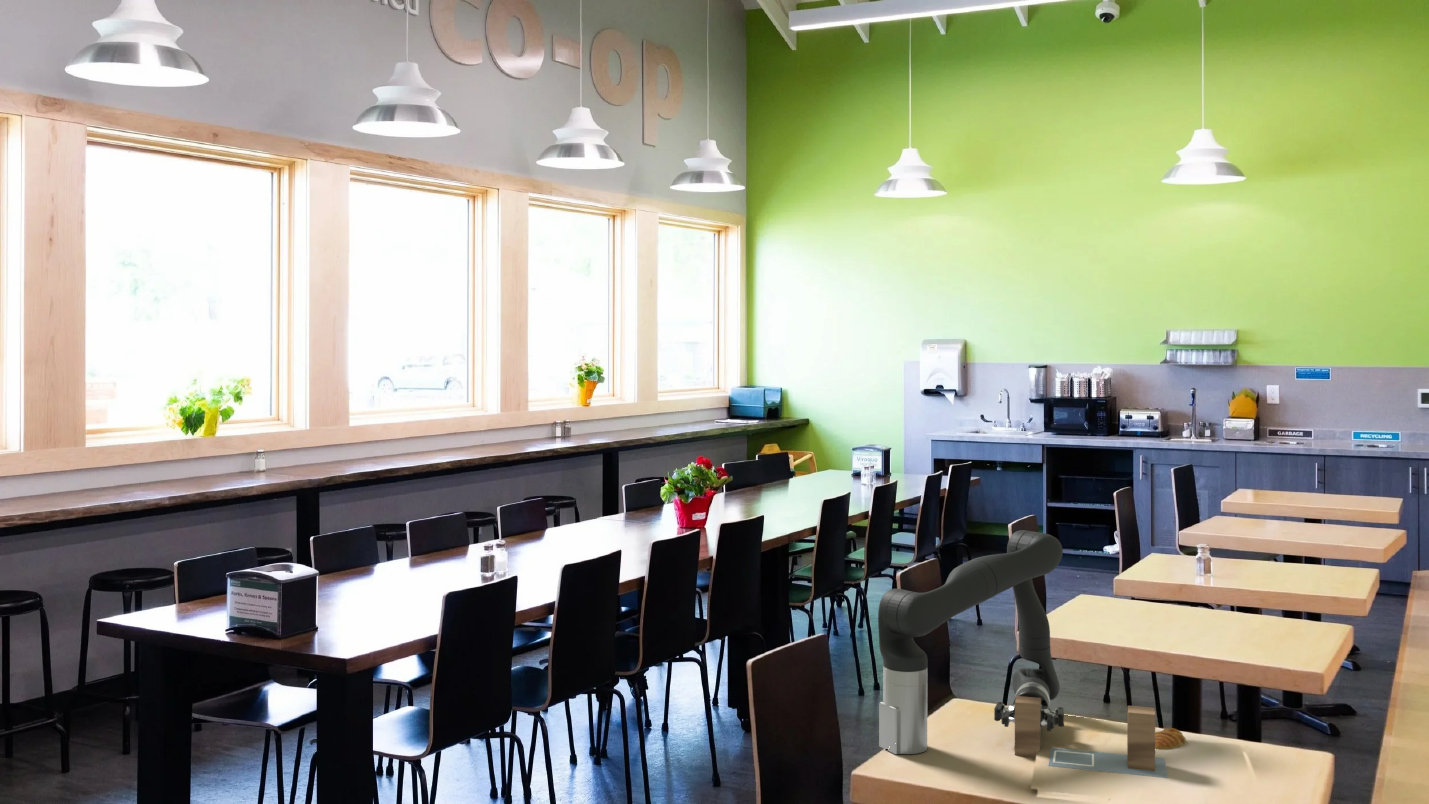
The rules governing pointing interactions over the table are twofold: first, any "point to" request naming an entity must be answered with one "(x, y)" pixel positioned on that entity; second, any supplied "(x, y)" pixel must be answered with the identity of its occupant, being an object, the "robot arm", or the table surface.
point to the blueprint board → (1101, 762)
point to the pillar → (1027, 726)
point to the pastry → (1169, 739)
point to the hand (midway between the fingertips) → (1027, 724)
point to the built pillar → (1141, 738)
